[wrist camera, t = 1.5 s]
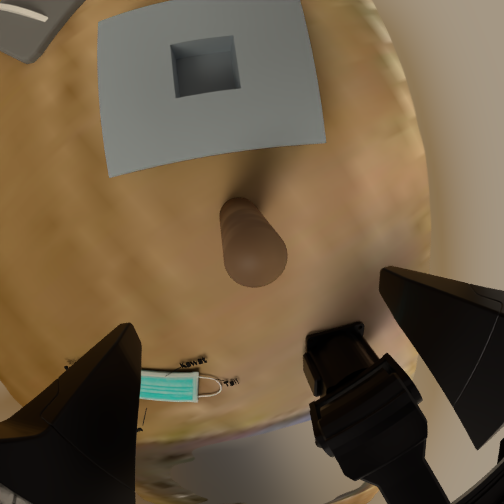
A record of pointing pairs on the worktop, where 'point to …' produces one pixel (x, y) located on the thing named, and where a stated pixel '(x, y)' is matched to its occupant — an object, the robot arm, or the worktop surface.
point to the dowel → (250, 245)
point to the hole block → (205, 81)
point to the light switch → (32, 25)
